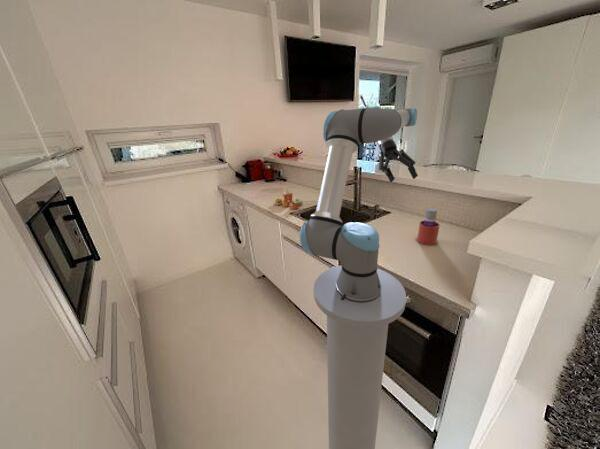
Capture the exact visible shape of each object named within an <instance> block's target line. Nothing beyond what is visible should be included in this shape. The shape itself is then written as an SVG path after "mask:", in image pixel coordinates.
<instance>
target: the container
mask: <svg viewBox="0 0 600 449" xmlns="http://www.w3.org/2000/svg"><path fill="white" fill-rule="evenodd" d="M437 214H438V209H436V208H432V207H429V208H426V209H425V213H424V219H423V221H424V226H429V227H435V222H437Z"/></svg>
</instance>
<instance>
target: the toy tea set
mask: <svg viewBox="0 0 600 449" xmlns="http://www.w3.org/2000/svg"><path fill="white" fill-rule="evenodd" d="M293 195H294V194H293V191H292V192H291V191H290V190H289V189H286V190H285V191H284V192H283V193H282V197H283V199H282V198H280V197H279V198H274V199H273V200H274V201H273V204H274V205H277V206H279V205H282V206H283V207H284V208H289V207H290V206H291V209H292V210H295V211H297V210H299V208H300V206H302V205H303V200H302V199H301V198H296V199H294V200H293Z"/></svg>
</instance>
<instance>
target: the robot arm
mask: <svg viewBox="0 0 600 449" xmlns="http://www.w3.org/2000/svg"><path fill="white" fill-rule="evenodd" d="M417 119H418V109H417V108H415V107H412V108H411V107H409V108H399V109H398V108H397V109H393V108H381V107H380V106H377V105H376V106H372V107H362V108H353V109H338V110H333V111H331V112H329V114H328V115H326V118H325V120H324V123H323V128H322V131H323V133H322V137H323V140H324V142H325V145H326V147H327V149H328V152H327V158H326V163H325V167H324V173H323V177H322V181H321V186H320V190H319V194H318V200H317V203H316V204H317V205H316V208H315V212H313V213H312V214H310V217H309V220H306V221H304V222H303V223H302V225H301V228H300V232H299V242H300V245H301V249H302V250H303V251H304V252H305V253H307V254H310V255H313V256H316V257H317V256H318V257H321V258H325V259H330V260H335V261H339V262H341V265H342V269H341V271H340V274H339V277H338V279H337V282H336V289H337V292H338V293H339V294H340V295H341V296H342V297H341V300H344V298H345V299H347V300H350V301H353V302H359V303H365V302H370V301H373V300H375V299H377V298H378V297H379V296H380V293H381V284H380V280H379V277H378V274H377V269H378V261H379V249H380V235H379V232H378V231H377V229H376V228H375V227H373V226H372V225H370V224H367V223H365V222H359V221H358V222H357V221H355V222H352V221H350V222H346V223H344V224H343V220H342V219H341V217H340V215H341V211H342V205H343V200H344V196H345V192H346V187H347V182H348V181H347V180H348V178H349V177H348V176H349V172H350V167H351V162H352V157H353V154H354V153H356V152H358V149H359V145H360V144H372V143H376V144H377V146H378V148H379V150H380V152H379V153H378V155H377V156H378V170H379V171H381V172H382V173H385V174H384V175H385V176H386V177H387V178H388V180H389V182H390V183H393V182H394V180H396V178H395V176H394V174H393V172H392V171H391V168H390V167H389V164H390V162H391V161H396V162H400V163H401V164H403V165H404V166H406V167H407V170H408V172H409V173H410V176H411V177H412V180H415V179H416V178H417V177H418V173H417V171H416V170H417V169H416V168H415V166H414V165H415V164H416V161H415V160H414V159H412V157H410V155H408V153H406V152H405V150H404V149H400V150H398V149H397V148H398V147H397V144H396V142H395V141H394V138H393V136H395V135H396V134H397V133H398V132H399V131H400V130H401V129H403V128H404V127H413V126H415V125H416V123H417Z"/></svg>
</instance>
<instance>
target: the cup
mask: <svg viewBox="0 0 600 449" xmlns="http://www.w3.org/2000/svg"><path fill="white" fill-rule="evenodd" d="M440 225H441V224H440V223H439V222H437V221H436V222H435V227H429V226H424V220H421V221H419V225H418V231H417V239H416V241H417V242H418V243H420V244H422V245H426V246H434V245H436V244H437V243H438V236H439V231H440Z"/></svg>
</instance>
